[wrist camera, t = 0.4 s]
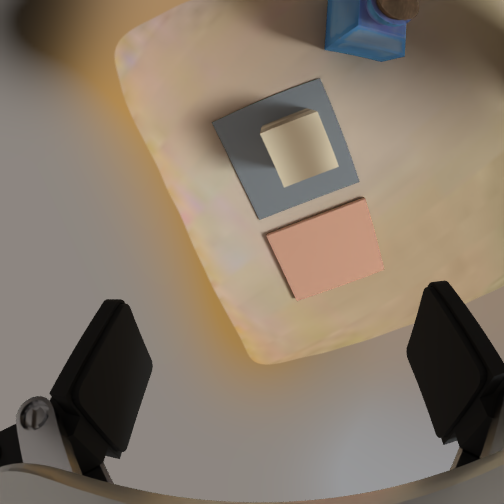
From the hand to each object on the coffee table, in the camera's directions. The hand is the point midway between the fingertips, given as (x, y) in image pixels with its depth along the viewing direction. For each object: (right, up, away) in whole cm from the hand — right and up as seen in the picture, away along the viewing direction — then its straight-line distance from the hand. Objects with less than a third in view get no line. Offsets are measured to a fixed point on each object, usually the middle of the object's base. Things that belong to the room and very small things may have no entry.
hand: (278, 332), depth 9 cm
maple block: (+4, +14, +21) cm, 25 cm away
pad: (+8, +2, +27) cm, 29 cm away
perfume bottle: (+10, +25, +15) cm, 31 cm away
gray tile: (+3, +13, +22) cm, 26 cm away
